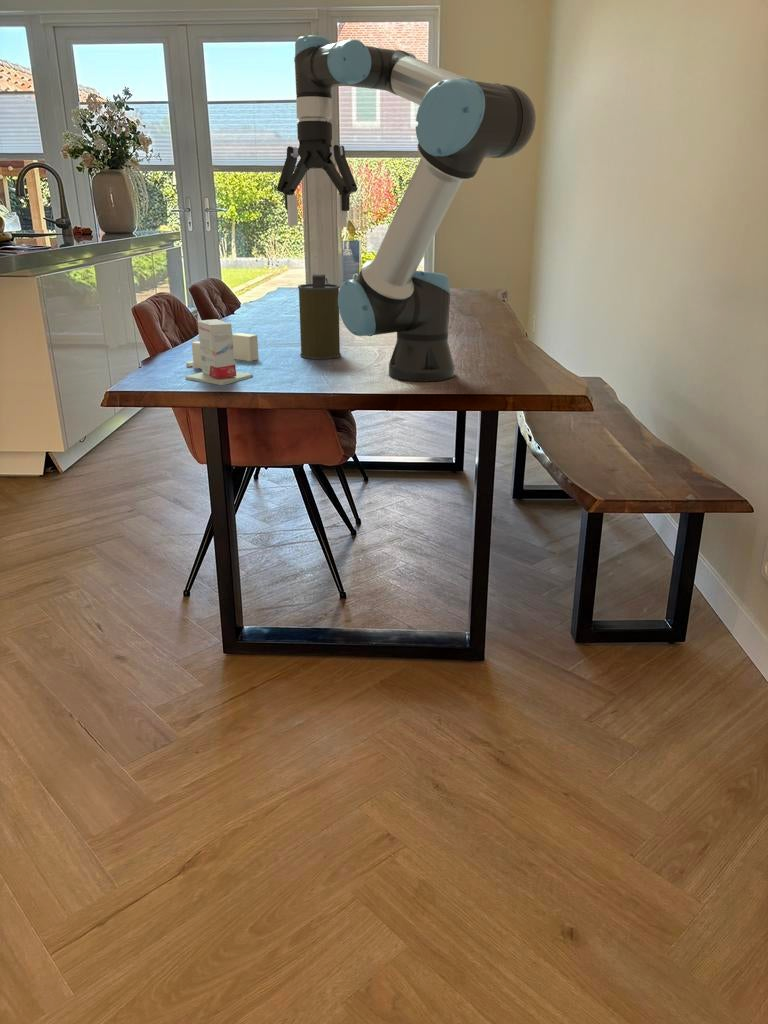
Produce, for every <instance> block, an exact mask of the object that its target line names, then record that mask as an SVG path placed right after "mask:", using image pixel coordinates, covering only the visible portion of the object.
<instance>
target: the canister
mask: <svg viewBox="0 0 768 1024" xmlns="http://www.w3.org/2000/svg"><path fill="white" fill-rule="evenodd" d="M311 279H312V282H311V283H306V284H299V285H298V286H297V288H298V301H299V305H298V307H299V328H300V330H299V331H300V354H299V355H300V357H301V358H304V359H307V360H308V359H309V360H330V359H331V360H332V359H337V358H339V357H341V355H342V353H341V352H340V351H341V350H340V347H341V345H340V311H339V307H338V294H339V290H340V287H341V285H339V284H334V283H329V281H328V278H327V277H326V274H321V273H318V274H317V273H315V274H312V278H311Z"/></svg>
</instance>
